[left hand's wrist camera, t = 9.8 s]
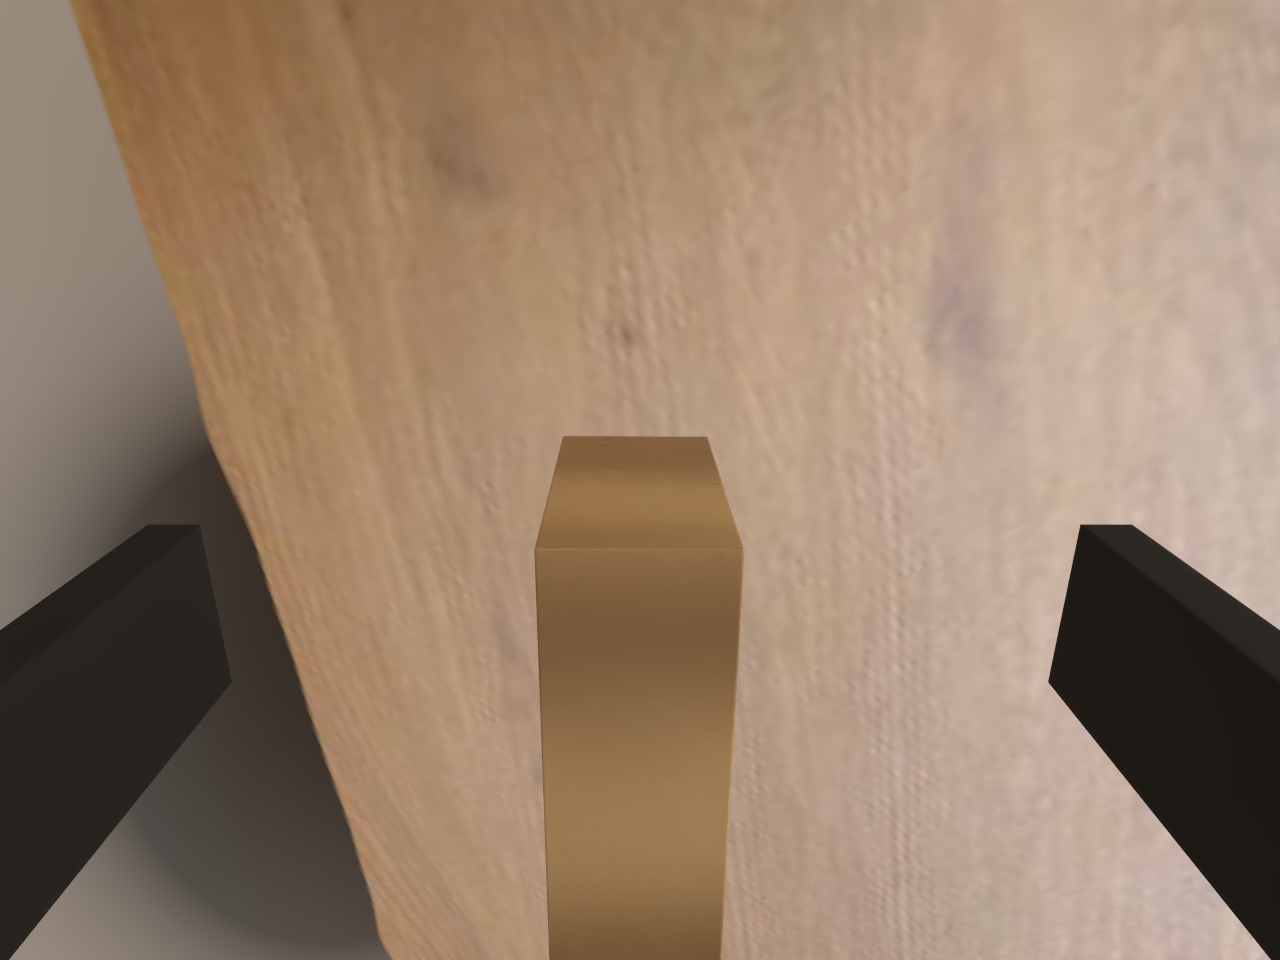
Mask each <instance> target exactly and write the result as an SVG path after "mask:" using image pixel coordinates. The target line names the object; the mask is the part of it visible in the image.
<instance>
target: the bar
mask: <svg viewBox="0 0 1280 960" xmlns="http://www.w3.org/2000/svg"><path fill="white" fill-rule="evenodd" d="M743 565H744V548H743V545H742V542H741V539H740V536H739V533H738V530H737V527H736V523H735V520H734V517H733V514H732V511H731V508H730V505H729V502H728V499H727V496H726V493H725V490H724V487H723V484H722V481H721V478H720V475H719V472H718V468H717V465H716V462H715V459H714V456H713V453H712V450H711V447H710V444H709V441H708V438H707V437H608V436H564V437H563V439H562V443H561V447H560V451H559V455H558V459H557V463H556V467H555V471H554V475H553V479H552V483H551V487H550V491H549V495H548V499H547V503H546V507H545V511H544V515H543V518H542V522H541V526H540V530H539V534H538V538H537V542H536V546H535V577H536V604H537V631H538V659H539V686H540V713H541V740H542V768H543V795H544V822H545V849H546V877H547V904H548V931H549V958H550V960H721V951H722V933H723V915H724V898H725V880H726V863H727V845H728V828H729V810H730V793H731V775H732V758H733V740H734V722H735V705H736V687H737V670H738V652H739V635H740V617H741V600H742V582H743Z"/></svg>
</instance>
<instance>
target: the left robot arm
mask: <svg viewBox="0 0 1280 960" xmlns="http://www.w3.org/2000/svg"><path fill="white" fill-rule="evenodd" d="M231 682H232V681H231V676H230V671H229V666H228V661H227V656H226V652H225V647H224V642H223V637H222V632H221V627H220V622H219V617H218V613H217V608H216V603H215V598H214V593H213V588H212V583H211V578H210V573H209V569H208V564H207V559H206V554H205V549H204V544H203V539H202V535H201V530H200V525H147V526H146V527H144V528H143V529H141V530H140V531H139V532H137V533H136V534H134V535H133V536H132V537H130V538H129V539H127V540H126V541H125V542H123V543H122V544H120V545H119V546H118V547H116V548H115V549H113V550H112V551H111V552H109V553H108V554H106V555H105V556H104V557H102V558H101V559H99V560H98V561H97V562H95V563H94V564H92V565H91V566H90V567H88V568H87V569H85V570H84V571H83V572H81V573H80V574H78V575H77V576H76V577H74V578H73V579H71V580H70V581H69V582H67V583H66V584H64V585H63V586H62V587H60V588H59V589H57V590H56V591H55V592H53V593H52V594H50V595H49V596H48V597H46V598H45V599H43V600H42V601H41V602H39V603H38V604H36V605H35V606H34V607H32V608H31V609H29V610H28V611H27V612H25V613H24V614H22V615H21V616H20V617H18V618H17V619H15V620H14V621H13V622H11V623H10V624H8V625H7V626H6V627H4V628H3V629H1V630H0V960H9V959H10V958H11V957H12V955H13V954H14V953H15V952H16V950H17V949H18V948H19V946H20V945H21V944H22V943H23V942H24V940H25V939H26V938H27V937H28V935H29V934H30V933H31V932H32V930H33V929H34V928H35V927H36V925H37V924H38V923H39V922H40V920H41V919H42V918H43V917H44V915H45V914H46V913H47V912H48V910H49V909H50V908H51V907H52V905H53V904H54V903H55V902H56V900H57V899H58V898H59V897H60V895H61V894H62V893H63V892H64V890H65V889H66V888H67V887H68V885H69V884H70V883H71V882H72V880H73V879H74V878H75V877H76V875H77V874H78V873H79V872H80V871H81V869H82V868H83V867H84V866H85V864H86V863H87V862H88V861H89V859H90V858H91V857H92V856H93V854H94V853H95V852H96V851H97V849H98V848H99V847H100V846H101V844H102V843H103V842H104V841H105V839H106V838H107V837H108V836H109V834H110V833H111V832H112V831H113V829H114V828H115V827H116V826H117V824H118V823H119V822H120V821H121V819H122V818H123V817H124V816H125V814H126V813H127V812H128V811H129V809H130V808H131V807H132V806H133V805H134V803H135V802H136V801H137V799H138V798H139V797H140V796H141V794H142V793H143V792H144V791H145V790H146V788H147V787H148V786H149V784H150V783H151V782H152V781H153V780H154V778H155V777H156V776H157V775H158V773H159V772H160V771H161V770H162V768H163V767H164V766H165V765H166V763H167V762H168V761H169V760H170V758H171V757H172V756H173V755H174V753H175V752H176V751H177V750H178V748H179V747H180V746H181V745H182V743H183V742H184V741H185V740H186V738H187V737H188V736H189V735H190V733H191V732H192V731H193V730H194V729H195V727H196V726H197V725H198V724H199V722H200V721H201V720H202V719H203V717H204V716H205V715H206V714H207V712H208V711H209V710H210V709H211V707H212V706H213V705H214V704H215V702H216V701H217V700H218V699H219V697H220V696H221V695H222V694H223V692H224V691H225V690H226V689H227V687H228V686H229V685H230V684H231ZM1048 682H1049V684H1050V685H1051V686H1052V687H1053V689H1054V690H1055V691H1056V692H1057V694H1058V695H1059V696H1060V697H1061V699H1062V700H1063V701H1064V702H1065V704H1066V705H1067V706H1068V707H1069V709H1070V710H1071V711H1072V712H1073V714H1074V715H1075V716H1076V717H1077V719H1078V720H1079V721H1080V722H1081V724H1082V725H1083V726H1084V727H1085V729H1086V730H1087V731H1088V732H1089V733H1090V735H1091V736H1092V737H1093V738H1094V740H1095V741H1096V742H1097V743H1098V745H1099V746H1100V747H1101V748H1102V750H1103V751H1104V752H1105V753H1106V755H1107V756H1108V757H1109V758H1110V760H1111V761H1112V762H1113V763H1114V765H1115V766H1116V767H1117V768H1118V770H1119V771H1120V772H1121V773H1122V775H1123V776H1124V777H1125V778H1126V780H1127V781H1128V782H1129V783H1130V785H1131V786H1132V787H1133V788H1134V790H1135V791H1136V792H1137V793H1138V795H1139V796H1140V797H1141V798H1142V800H1143V801H1144V802H1145V803H1146V805H1147V806H1148V807H1149V808H1150V809H1151V811H1152V812H1153V813H1154V814H1155V816H1156V817H1157V818H1158V819H1159V821H1160V822H1161V823H1162V824H1163V826H1164V827H1165V828H1166V829H1167V831H1168V832H1169V833H1170V834H1171V836H1172V837H1173V838H1174V839H1175V841H1176V842H1177V843H1178V844H1179V846H1180V847H1181V848H1182V849H1183V851H1184V852H1185V853H1186V854H1187V856H1188V857H1189V858H1190V859H1191V861H1192V862H1193V863H1194V864H1195V866H1196V867H1197V868H1198V869H1199V871H1200V872H1201V873H1202V874H1203V876H1204V877H1205V878H1206V879H1207V881H1208V882H1209V883H1210V884H1211V885H1212V887H1213V888H1214V889H1215V890H1216V892H1217V893H1218V894H1219V895H1220V897H1221V898H1222V899H1223V900H1224V902H1225V903H1226V904H1227V905H1228V907H1229V908H1230V909H1231V910H1232V912H1233V913H1234V914H1235V915H1236V917H1237V918H1238V919H1239V920H1240V922H1241V923H1242V924H1243V925H1244V927H1245V928H1246V929H1247V930H1248V932H1249V933H1250V934H1251V935H1252V937H1253V938H1254V939H1255V940H1256V942H1257V943H1258V944H1259V945H1260V947H1261V948H1262V949H1263V950H1264V952H1265V953H1266V954H1267V955H1268V957H1269V958H1270V959H1271V960H1280V630H1279V629H1277V628H1276V627H1274V626H1273V625H1272V624H1270V623H1269V622H1267V621H1266V620H1265V619H1263V618H1262V617H1260V616H1259V615H1258V614H1256V613H1255V612H1253V611H1252V610H1251V609H1249V608H1248V607H1246V606H1245V605H1244V604H1242V603H1241V602H1239V601H1238V600H1237V599H1235V598H1234V597H1232V596H1231V595H1230V594H1228V593H1227V592H1225V591H1224V590H1223V589H1221V588H1220V587H1218V586H1217V585H1216V584H1214V583H1213V582H1211V581H1210V580H1209V579H1207V578H1206V577H1204V576H1203V575H1202V574H1200V573H1199V572H1197V571H1196V570H1195V569H1193V568H1192V567H1190V566H1189V565H1188V564H1186V563H1185V562H1183V561H1182V560H1181V559H1179V558H1178V557H1176V556H1175V555H1174V554H1172V553H1171V552H1169V551H1168V550H1167V549H1165V548H1164V547H1162V546H1161V545H1160V544H1158V543H1157V542H1155V541H1154V540H1153V539H1151V538H1150V537H1148V536H1147V535H1146V534H1144V533H1143V532H1141V531H1140V530H1139V529H1137V528H1136V527H1134V526H1133V525H1080V530H1079V534H1078V539H1077V544H1076V549H1075V554H1074V559H1073V564H1072V569H1071V573H1070V578H1069V583H1068V588H1067V593H1066V598H1065V603H1064V608H1063V613H1062V617H1061V622H1060V627H1059V632H1058V637H1057V642H1056V647H1055V652H1054V656H1053V661H1052V666H1051V671H1050V676H1049V681H1048Z"/></svg>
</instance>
